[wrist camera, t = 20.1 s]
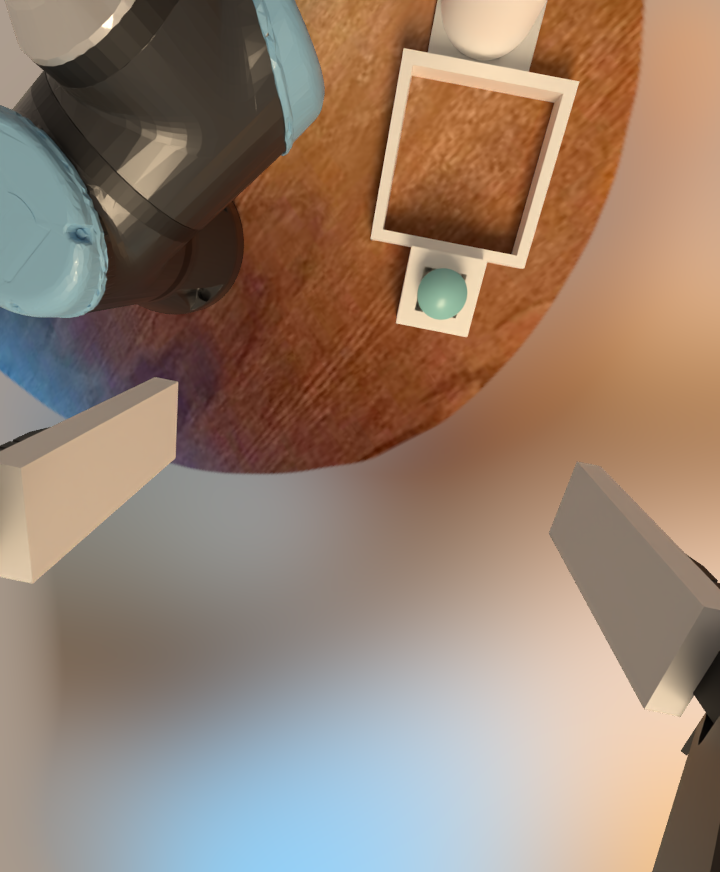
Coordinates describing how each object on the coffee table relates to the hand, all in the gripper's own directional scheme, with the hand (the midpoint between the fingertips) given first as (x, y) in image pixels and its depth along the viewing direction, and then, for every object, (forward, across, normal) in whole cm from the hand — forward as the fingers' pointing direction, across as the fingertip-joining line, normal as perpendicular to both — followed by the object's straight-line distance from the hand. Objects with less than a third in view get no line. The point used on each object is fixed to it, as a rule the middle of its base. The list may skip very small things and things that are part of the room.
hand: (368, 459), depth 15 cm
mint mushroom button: (+34, +4, +4) cm, 35 cm away
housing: (+37, +4, +12) cm, 39 cm away
